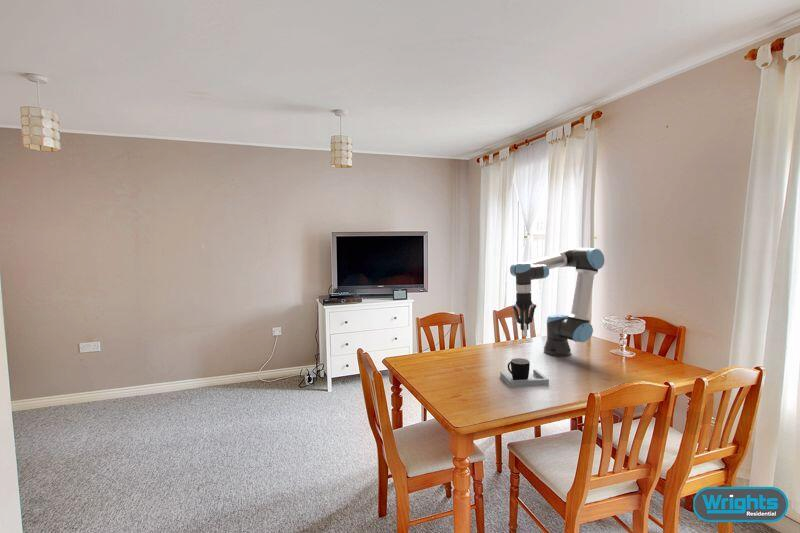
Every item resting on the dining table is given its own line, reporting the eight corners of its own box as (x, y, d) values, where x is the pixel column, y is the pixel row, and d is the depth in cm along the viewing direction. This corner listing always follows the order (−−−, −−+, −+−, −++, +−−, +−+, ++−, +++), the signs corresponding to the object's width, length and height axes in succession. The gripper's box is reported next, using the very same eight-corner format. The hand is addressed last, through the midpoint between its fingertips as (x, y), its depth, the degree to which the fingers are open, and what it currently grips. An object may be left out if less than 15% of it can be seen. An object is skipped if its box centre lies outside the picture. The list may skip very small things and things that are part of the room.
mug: (533, 381, 187) (533, 361, 186) (521, 385, 182) (521, 365, 181) (513, 374, 197) (513, 355, 196) (502, 378, 192) (502, 358, 191)
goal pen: (500, 377, 194) (500, 371, 194) (536, 374, 196) (536, 369, 195) (510, 387, 180) (510, 381, 180) (548, 385, 182) (548, 379, 181)
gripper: (514, 294, 195) (515, 338, 197) (538, 292, 196) (539, 336, 198) (509, 291, 202) (510, 334, 205) (532, 290, 203) (533, 333, 205)
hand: (524, 335), depth 201 cm, fingers closed
